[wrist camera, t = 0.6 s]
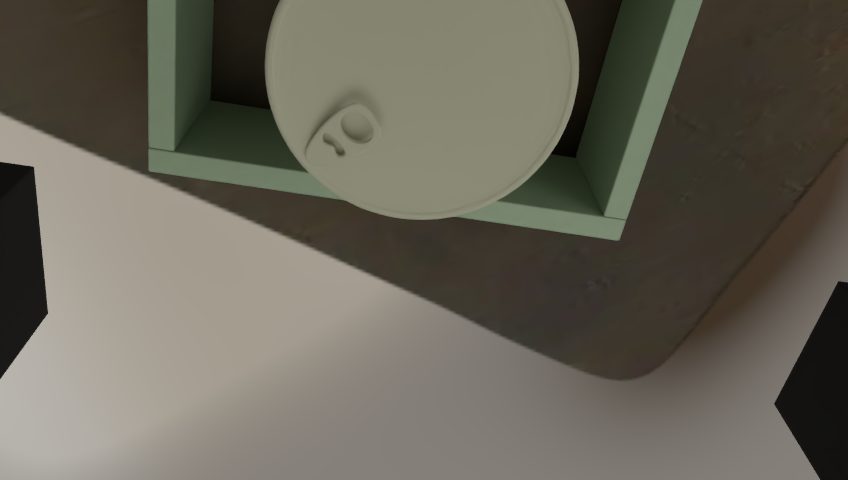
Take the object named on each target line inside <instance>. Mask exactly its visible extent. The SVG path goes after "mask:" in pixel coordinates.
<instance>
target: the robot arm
mask: <svg viewBox="0 0 848 480" xmlns="http://www.w3.org/2000/svg"><path fill="white" fill-rule="evenodd" d="M47 314H48V310H47V299H46V289H45V279H44V268H43V258H42V247H41V238H40V226H39V216H38V205H37V196H36V185H35V175H34V167H31V166H24V165H17V164H10V163H3V162H0V378H1V377H2V376H3V374H4V373H5V372H6V370H7V369H8V367H9V366H10V365H11V363H12V362H13V361H14V359H15V358H16V356H17V355H18V354H19V352H20V351H21V350H22V348H23V347H24V345H25V344H26V342H27V341H28V340H29V339H30V337H31V336H32V335H33V333H34V332H35V330H36V329H37V327H38V326H39V325H40V323H41V322H42V321H43V319H44V318H45V317H46V315H47ZM774 404H775V406H776V408H777V409H778V411H779V413H780V414H781V416H782V417H783V419H784V421H785V422H786V424H787V426H788V427H789V429H790V430H791V432H792V434H793V435H794V437H795V439H796V440H797V442H798V444H799V445H800V447H801V449H802V450H803V452H804V454H805V455H806V457H807V458H808V460H809V462H810V463H811V465H812V467H813V468H814V470H815V471H816V473H817V475H818V476H819V478H820V480H848V283H847V282H838V283H837V285H836V287H835V289H834V291H833V293H832V295H831V297H830V299H829V301H828V302H827V304H826V306H825V308H824V310H823V312H822V314H821V316H820V318H819V319H818V322H817V323H816V325H815V327H814V329H813V331H812V333H811V335H810V337H809V339H808V340H807V342H806V344H805V346H804V348H803V350H802V352H801V354H800V356H799V358H798V360H797V362H796V363H795V365H794V367H793V369H792V371H791V373H790V375H789V377H788V379H787V380H786V382H785V384H784V386H783V388H782V390H781V392H780V394H779V396H778V398H777V400H776V402H775V403H774Z"/></svg>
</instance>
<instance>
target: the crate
mask: <svg viewBox="0 0 848 480" xmlns="http://www.w3.org/2000/svg"><path fill="white" fill-rule="evenodd" d="M702 1H703V0H622V2H621V6H620V9H619V12H618V16H617V19H616V23H615V26H614V29H613V33H612V36H611V40H610V43H609V46H608V50H607V53H606V56H605V60H604V63H603V67H602V70H601V73H600V77H599V80H598V83H597V87H596V90H595V94H594V97H593V100H592V104H591V107H590V110H589V114H588V117H587V121H586V124H585V127H584V131H583V134H582V137H581V141H580V144H579V148H578V151H577V154H576V158H573V157H566V156H560V155H554V154H550V155H549V157H548V158H547V159H546V160H545V162H544V163H543V164H542V165H541V166H540V167H539V169H538V170H537V171H536V172H535V173H534V174H533V175H532V176H531V177H530V178H529V179H527V180H526V181H525V182H524V183H523V184H522V185H520V186H519V187H518V188H516V189H515V190H513V191H512V192H511V193H509V194H508V195H506V196H504V197H503V198H501V199H499V200H497V201H496V202H494V203H492V204H489V205H487V206H485V207H482V208H480V209H477V210H475V211H472V212H469V213H466V214H462V215H458V216H455V217H462V218H469V219H475V220H482V221H489V222H496V223H502V224H509V225H516V226H523V227H529V228H536V229H543V230H550V231H556V232H563V233H570V234H577V235H583V236H590V237H597V238H604V239H610V240H617V241H618V240H620V237H621V234H622V231H623V228H624V225H625V222H626V219H627V216H628V214H629V211H630V208H631V205H632V202H633V199H634V196H635V193H636V191H637V188H638V185H639V182H640V179H641V176H642V173H643V170H644V168H645V165H646V162H647V159H648V156H649V153H650V150H651V147H652V145H653V142H654V139H655V136H656V133H657V130H658V127H659V124H660V122H661V119H662V116H663V113H664V110H665V107H666V104H667V101H668V99H669V96H670V93H671V90H672V87H673V84H674V81H675V78H676V76H677V73H678V70H679V67H680V64H681V61H682V58H683V55H684V53H685V50H686V47H687V44H688V41H689V38H690V35H691V32H692V30H693V27H694V24H695V21H696V18H697V15H698V12H699V9H700V7H701V4H702ZM213 16H214V0H147V31H148V145H149V149H148V169H149V171H151V172H158V173H164V174H171V175H178V176H185V177H191V178H198V179H205V180H212V181H218V182H225V183H232V184H239V185H245V186H252V187H259V188H266V189H273V190H279V191H286V192H293V193H300V194H306V195H313V196H320V197H327V198H333V199H340V200H344V199H342V198H340V197H339V196H337V195H336V194H334V193H333V192H331V191H330V190H328V189H327V188H326V187H324V186H323V185H322V184H320V183H319V182H318V181H317V180H316V179H315V178H314V177H313V176H311V175H310V173H309V172H308V171H307V170H306V169H305V168H304V167H303V166H302V165H301V164H300V162H299V161H298V160H297V159H296V157H295V156H294V154H293V153H292V152H291V150H290V149H289V147H288V146H287V144H286V142H285V140H284V139H283V137H282V135H281V133H280V131H279V128H278V126H277V124H276V122H275V119H274V116H273V113H272V110H269V109H263V108H256V107H250V106H244V105H237V104H231V103H225V102H219V101H212V100H210V99H211V74H212V45H213Z"/></svg>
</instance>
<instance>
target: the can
mask: <svg viewBox="0 0 848 480" xmlns="http://www.w3.org/2000/svg"><path fill="white" fill-rule="evenodd" d="M265 79H266V88H267V94H268V99H269V103H270V107H271V110H272V113H273V116H274V119H275V122H276V124H277V126H278V128H279V131H280V133H281V135H282V137H283V139H284V140H285V142H286V144H287V146H288V147H289V149H290V150H291V152H292V153H293V154H294V156H295V157H296V159H297V160H298V161H299V162H300V164H301V165H302V166H303V167H304V168H305V169H306V170H307V171H308V172H309V173H310V175H311V176H313V177H314V178H315V179H316V180H317V181H318V182H319V183H320V184H322V185H323V186H324V187H326V188H327V189H328V190H330V191H331V192H333V193H334V194H336V195H337V196H339V197H340V198H342V199H344V200H346V201H348V202H350V203H352V204H354V205H356V206H358V207H360V208H363V209H365V210H368V211H371V212H375V213H378V214H381V215H385V216H390V217H396V218H403V219H417V220H427V219H441V218H447V217H453V216H458V215H462V214H466V213H469V212H472V211H475V210H477V209H480V208H482V207H485V206H487V205H489V204H492V203H494V202H496V201H497V200H499V199H501V198H503V197H504V196H506V195H508V194H509V193H511V192H512V191H513V190H515V189H516V188H518V187H519V186H520V185H522V184H523V183H524V182H525V181H526V180H527V179H529V178H530V177H531V176H532V175H533V174H534V173H535V172H536V171H537V170H538V169H539V167H540V166H541V165H542V164H543V163H544V162H545V160H546V159H547V158H548V157H549V155H550V154H551V152H552V151H553V149H554V148H555V146H556V145H557V143H558V142H559V140H560V138H561V136H562V134H563V132H564V130H565V128H566V125H567V123H568V121H569V118H570V116H571V113H572V109H573V106H574V101H575V97H576V92H577V86H578V80H579V54H578V44H577V37H576V33H575V29H574V24H573V21H572V18H571V15H570V12H569V10H568V7H567V5H566V3H565V0H280V1H279V3H278V5H277V7H276V10H275V13H274V15H273V18H272V21H271V25H270V29H269V33H268V38H267V43H266V54H265Z"/></svg>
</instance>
